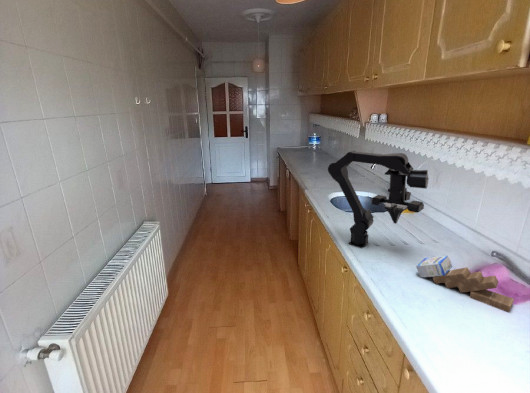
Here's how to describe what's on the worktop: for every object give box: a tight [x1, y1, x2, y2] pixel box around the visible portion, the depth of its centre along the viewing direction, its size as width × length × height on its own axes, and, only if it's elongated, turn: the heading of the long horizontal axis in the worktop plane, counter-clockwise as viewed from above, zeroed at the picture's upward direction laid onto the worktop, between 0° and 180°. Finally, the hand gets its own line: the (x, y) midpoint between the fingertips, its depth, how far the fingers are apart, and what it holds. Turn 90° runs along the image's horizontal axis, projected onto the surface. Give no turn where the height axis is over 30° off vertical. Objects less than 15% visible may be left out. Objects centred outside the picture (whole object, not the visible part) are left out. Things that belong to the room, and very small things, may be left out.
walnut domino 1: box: [432, 267, 471, 285], centre depth 100 cm, size 2×5×10 cm
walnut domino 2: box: [443, 270, 485, 289], centre depth 97 cm, size 2×5×10 cm
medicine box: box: [416, 255, 453, 278], centre depth 105 cm, size 8×4×9 cm
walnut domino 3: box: [457, 275, 499, 293], centre depth 95 cm, size 2×5×10 cm
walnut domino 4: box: [469, 289, 514, 313], centre depth 92 cm, size 2×5×10 cm
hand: (395, 223), depth 120 cm, fingers closed
